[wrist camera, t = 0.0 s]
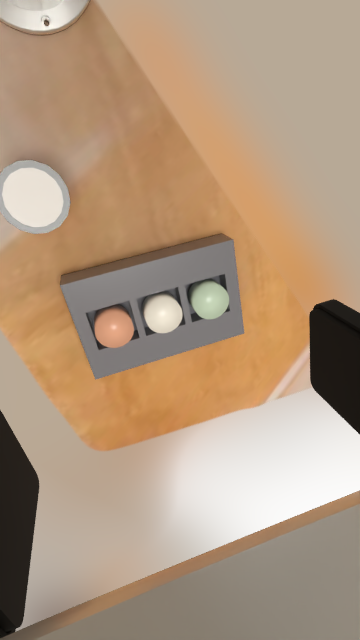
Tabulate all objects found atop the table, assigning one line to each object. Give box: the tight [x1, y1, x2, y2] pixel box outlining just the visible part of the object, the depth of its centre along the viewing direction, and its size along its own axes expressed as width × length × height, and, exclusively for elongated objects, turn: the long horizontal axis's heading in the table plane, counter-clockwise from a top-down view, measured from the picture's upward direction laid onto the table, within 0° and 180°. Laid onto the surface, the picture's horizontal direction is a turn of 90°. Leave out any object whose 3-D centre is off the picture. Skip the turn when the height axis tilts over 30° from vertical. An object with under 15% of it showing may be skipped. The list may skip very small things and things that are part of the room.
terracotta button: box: [94, 304, 134, 348], centre depth 45 cm, size 5×5×3 cm
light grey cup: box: [0, 160, 70, 234], centre depth 37 cm, size 7×7×7 cm
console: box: [60, 234, 244, 379], centre depth 47 cm, size 14×22×4 cm, turn 101°
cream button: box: [142, 291, 182, 333], centre depth 46 cm, size 5×5×3 cm
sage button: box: [188, 278, 229, 319], centre depth 46 cm, size 5×5×3 cm
